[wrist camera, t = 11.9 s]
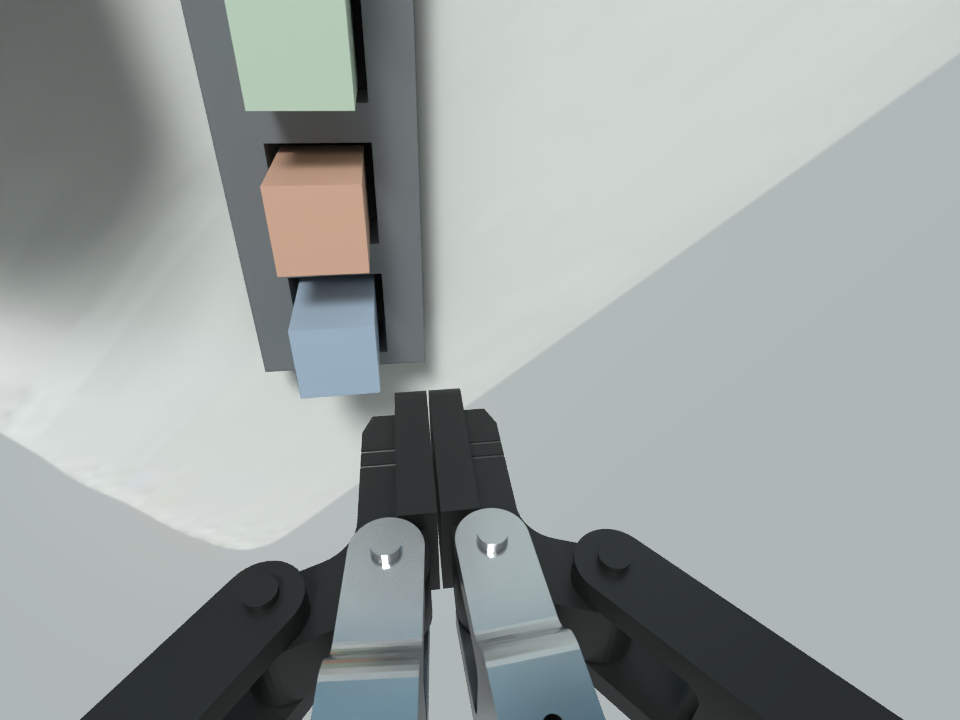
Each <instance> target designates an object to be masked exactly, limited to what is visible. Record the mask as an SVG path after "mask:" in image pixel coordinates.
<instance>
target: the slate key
mask: <svg viewBox="0 0 960 720" xmlns="http://www.w3.org/2000/svg"><path fill="white" fill-rule="evenodd" d="M288 334H289V339H290V345H291V350H292V355H293V360H294V365H295V371H296V376H297V381H298V386H299V391H300V397H301V398H314V397H328V396H341V395H355V394H369V393H380V355H379V325H378V313H377V301H376V290H375V278H374V274H362V275H339V276H316V277H300V281H299V285H298V289H297V294H296V298H295V303H294V307H293V312H292V316H291V320H290V325H289V329H288Z"/></svg>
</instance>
